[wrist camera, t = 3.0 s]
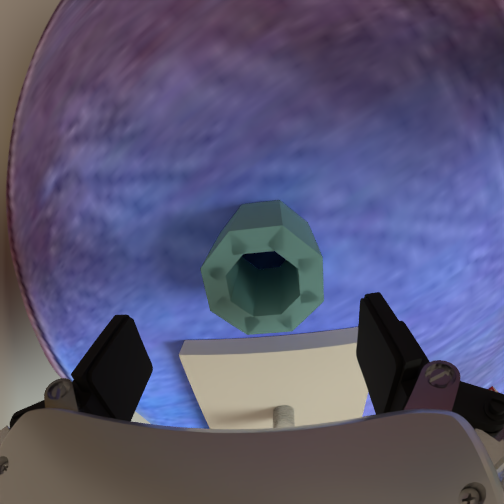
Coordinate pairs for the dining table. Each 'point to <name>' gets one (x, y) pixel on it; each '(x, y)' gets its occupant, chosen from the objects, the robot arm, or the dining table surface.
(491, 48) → the dining table surface
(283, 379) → the board
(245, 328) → the bead
